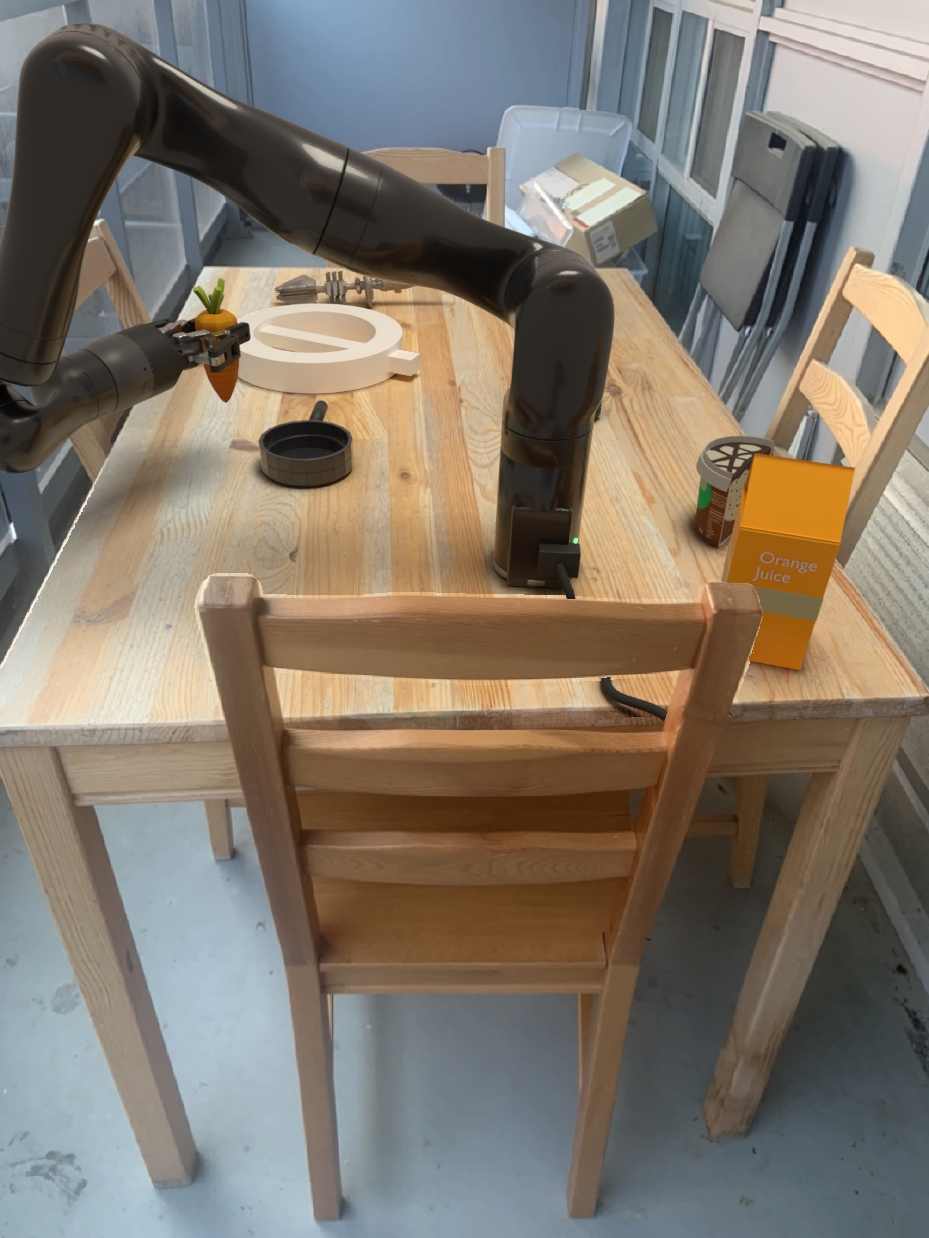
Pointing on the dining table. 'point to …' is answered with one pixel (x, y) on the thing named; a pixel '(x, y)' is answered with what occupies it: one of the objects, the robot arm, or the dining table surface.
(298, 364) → the white circle with bar
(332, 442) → the pan
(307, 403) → the dining table surface
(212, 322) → the carrot
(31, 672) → the dining table surface
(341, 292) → the spaceship
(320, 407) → the pan handle
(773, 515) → the orange juice
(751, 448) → the food container
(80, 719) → the dining table surface
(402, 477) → the dining table surface
